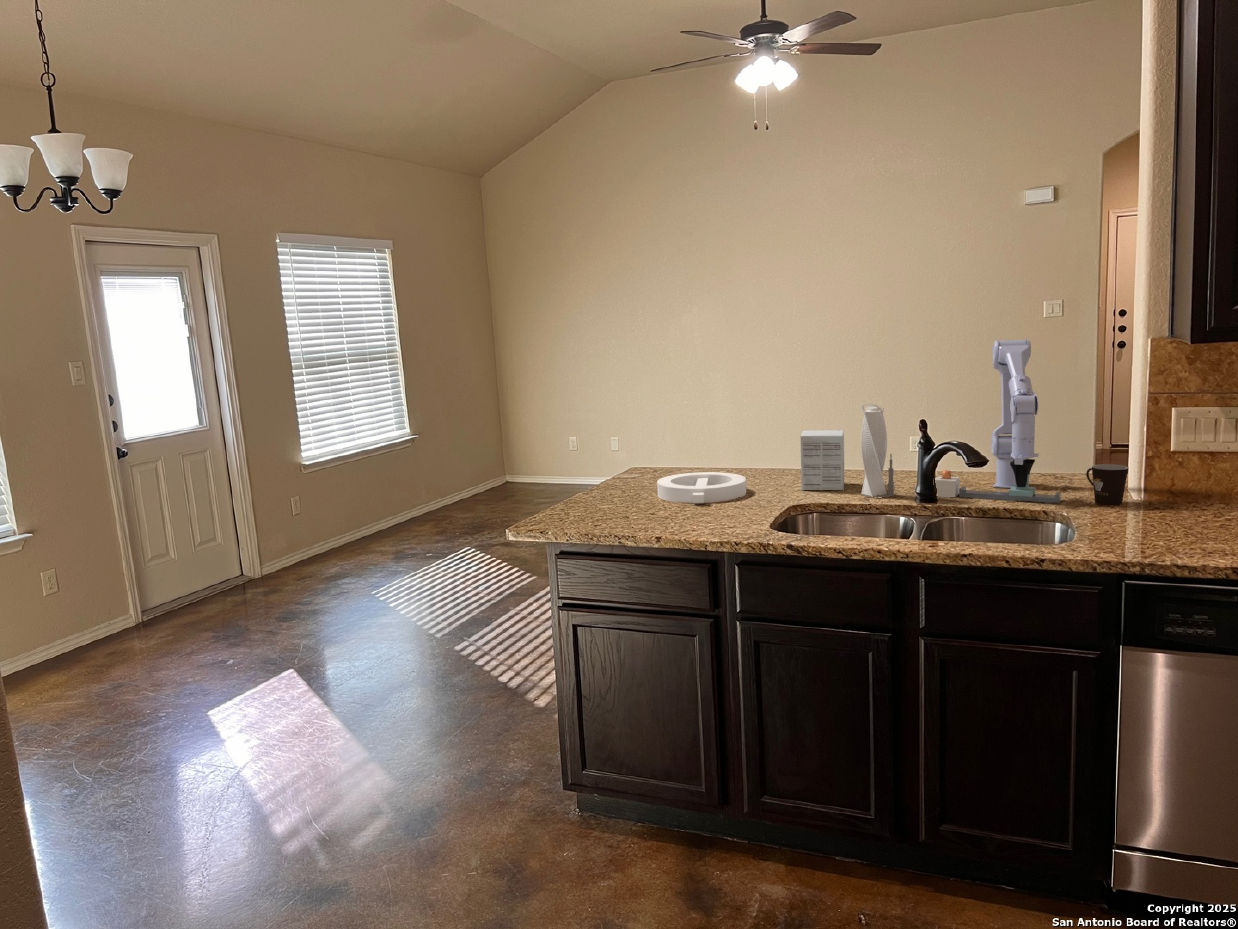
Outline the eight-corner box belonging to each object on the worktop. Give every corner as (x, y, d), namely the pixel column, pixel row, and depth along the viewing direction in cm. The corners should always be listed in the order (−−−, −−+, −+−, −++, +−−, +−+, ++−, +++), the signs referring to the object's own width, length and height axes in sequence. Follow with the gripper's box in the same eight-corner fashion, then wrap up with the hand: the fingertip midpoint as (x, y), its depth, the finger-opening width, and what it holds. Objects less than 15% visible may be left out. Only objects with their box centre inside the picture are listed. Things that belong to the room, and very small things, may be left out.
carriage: (1012, 491, 250) (1012, 472, 249) (1035, 492, 246) (1035, 473, 245) (1008, 495, 245) (1009, 476, 244) (1032, 496, 241) (1032, 477, 241)
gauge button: (943, 476, 258) (943, 470, 257) (951, 477, 256) (951, 470, 256) (941, 478, 256) (941, 471, 255) (950, 478, 254) (950, 472, 254)
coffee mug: (1131, 506, 231) (1133, 469, 230) (1096, 506, 233) (1097, 470, 232) (1116, 497, 243) (1117, 462, 241) (1082, 497, 244) (1083, 462, 243)
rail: (962, 494, 256) (962, 486, 256) (1060, 500, 242) (1060, 492, 242) (959, 497, 253) (959, 488, 253) (1058, 503, 239) (1059, 494, 239)
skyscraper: (872, 499, 256) (872, 404, 251) (854, 495, 263) (854, 402, 259) (895, 495, 259) (895, 402, 255) (877, 491, 267) (876, 400, 262)
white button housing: (938, 492, 261) (938, 476, 260) (959, 493, 258) (959, 477, 257) (933, 496, 256) (933, 479, 255) (954, 497, 253) (955, 480, 252)
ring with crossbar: (697, 508, 258) (697, 492, 257) (640, 496, 281) (639, 481, 280) (764, 493, 274) (764, 478, 274) (705, 483, 297) (704, 469, 296)
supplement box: (803, 483, 286) (802, 430, 283) (844, 483, 283) (844, 429, 280) (800, 491, 274) (799, 435, 271) (843, 491, 270) (843, 435, 267)
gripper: (1035, 442, 235) (1033, 491, 237) (1042, 434, 247) (1041, 482, 249) (1006, 441, 239) (1005, 490, 241) (1015, 434, 251) (1014, 480, 253)
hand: (1022, 485), depth 245 cm, fingers closed on carriage, 2 cm apart
